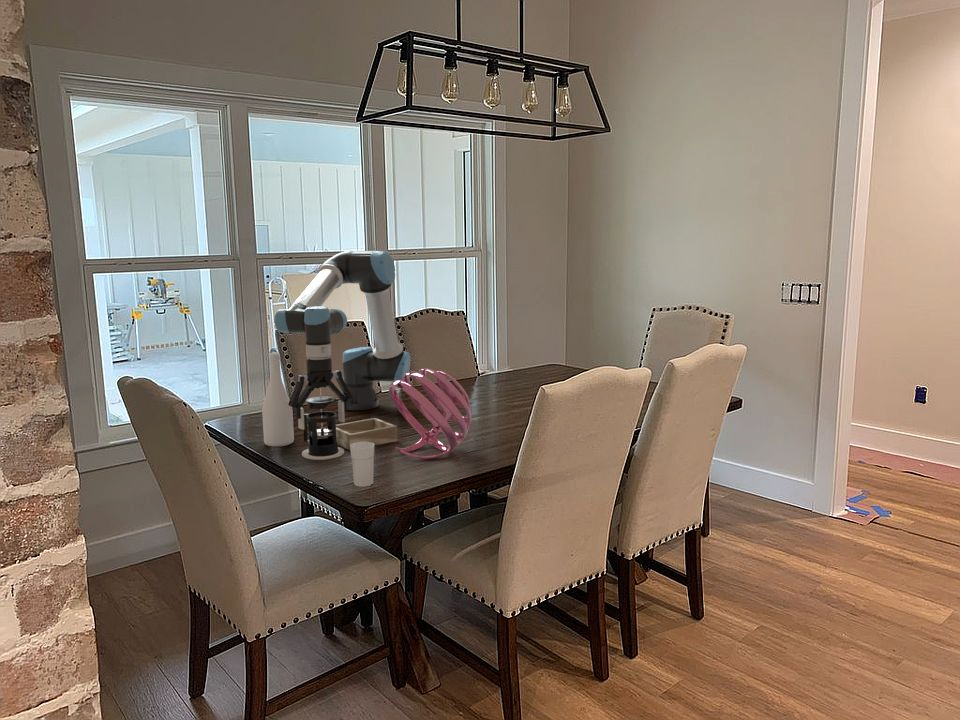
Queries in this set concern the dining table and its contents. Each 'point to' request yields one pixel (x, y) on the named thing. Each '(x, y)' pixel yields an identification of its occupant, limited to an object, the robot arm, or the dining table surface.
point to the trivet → (307, 456)
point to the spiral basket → (433, 410)
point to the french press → (322, 444)
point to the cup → (362, 463)
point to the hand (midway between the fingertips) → (321, 425)
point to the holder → (365, 432)
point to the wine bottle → (277, 408)
